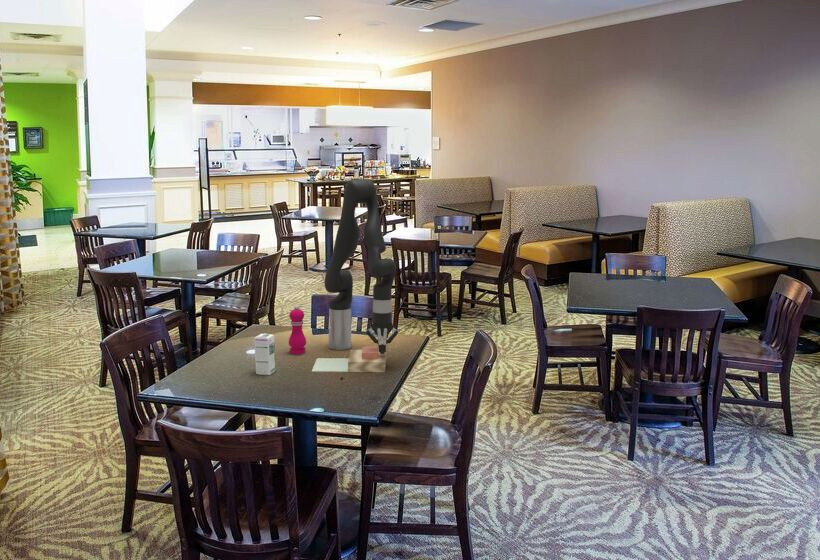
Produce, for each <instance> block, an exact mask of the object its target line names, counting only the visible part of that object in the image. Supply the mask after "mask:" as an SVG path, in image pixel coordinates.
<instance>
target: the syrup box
mask: <svg viewBox="0 0 820 560" xmlns="http://www.w3.org/2000/svg"><path fill="white" fill-rule="evenodd" d="M253 339H254V361H255V362H254V363H255V373H256V375H259V376H261V375H263V376H271V375H272V374H273V373H274V372H276V371H277V369H276V368H277V367H276V365H277V363H276V347H275V346H276V345H275V344H276V343H275V334H273V333H260V334H258V335H257V336H255V337H253Z"/></svg>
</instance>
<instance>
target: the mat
mask: <svg viewBox="0 0 820 560" xmlns="http://www.w3.org/2000/svg"><path fill="white" fill-rule="evenodd" d="M348 360H349V357H347V358H345V357H342V358H341V357H340V358H339V357H338V358H336V357H335V358H333V357H332V358H330V357H328V358H327V357H325V358H323V357H321V358H320V357H318V358H316V360H315V362H314V364H313V367H312V370H311V372H312V373H349V372H348Z"/></svg>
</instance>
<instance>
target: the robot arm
mask: <svg viewBox="0 0 820 560" xmlns="http://www.w3.org/2000/svg"><path fill="white" fill-rule="evenodd" d="M359 204H365V206H366V210H367V218H366V221H365V224H364V230H363V231H364V232H363V237H364V240H365V241H364V242H365V245H366V248H367V261H368V262H367V269H368V273H369V274H370V276H371V277H372V278H374V279H380V278H381V280H380V281H379V282H377V283H375V284H374V285H373V288H372V289H373V290H372V292H373V293H372V298H373V299H372V324H371V326H370V328H369V329H366V331H365V333H366V335H367V336H368V338H370V340H371V341H372V342H373V343H374V344H377V345H378V350H379V353H380V354H384V353H385V352H386V353H387V345H388V344H391V343H392V341H393V340H394V339H395V338H396V337H397V335H398V334H399V329H396V328H395V327H394V324H393V301H392V287H393V285H394V280H395V277H396V272H397V266H396V263H395V261H394V260H393V258H390V257H387V258H386V257H385V258H381V259H380V254H383V253H385V252H386V250H387V246H386V242H385V239H384V235H383V232H382V226H381V222H380V211H379V203H378V195H377V190H376V186H375V183H374V182H373V181H372V179H367V178H365V179H364V178H361V179H350V180H348V181H347V183H346V184H345V187H344V192H343V200H342V208H341V214H340V220H339V224H338V228H337V231H336V236H335V240H334V246H333V251H332V254H331V257H330V261H329V263H328V267H327V269H326V273H325V277H324V288H325V291H327V293H330V294H336V293H337V295H336V297H334V298H332V299H331V300H330V301H329V303H328V315H329V316H328V321H329V322H328V323H329V324H328V325H329V326H328V349H329V350H334V351H335V350H336V351H343V350H349V349H352V302H353V289H354V286H353V285H354V279H353V275H352V273H351V271H350V270H348V269H343V266H345V264H346V262H348V260H349V259H350V258H351V257H352V256H353V254H354V253H355V251H357V249H358V245H359V242H360V237H361V229H360V226H359V223H358V222H357V219H356V216H355V213H356V208H357V205H359ZM373 333H374V334H375V335H376V336H377V337H376V336H375V335H374V334H373ZM390 333H391V335H390ZM389 335H390V336H389ZM382 336H383V337H382ZM387 336H389V338H387ZM382 338H383V339H382Z"/></svg>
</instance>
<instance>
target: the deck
mask: <svg viewBox="0 0 820 560" xmlns="http://www.w3.org/2000/svg"><path fill="white" fill-rule="evenodd" d="M348 358H349V360H348V372H347V373H386V365H387V351H386V352H385V353H384V354H380V353H379V349H378V359H362V349H351V350H350V354H349V357H348Z"/></svg>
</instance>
